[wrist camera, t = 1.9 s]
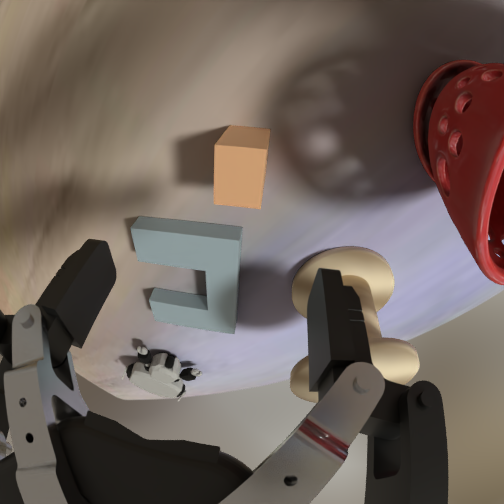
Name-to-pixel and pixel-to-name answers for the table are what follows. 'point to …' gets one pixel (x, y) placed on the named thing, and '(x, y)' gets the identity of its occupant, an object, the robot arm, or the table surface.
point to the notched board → (193, 257)
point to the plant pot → (467, 153)
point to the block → (241, 166)
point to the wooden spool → (372, 300)
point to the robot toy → (160, 374)
